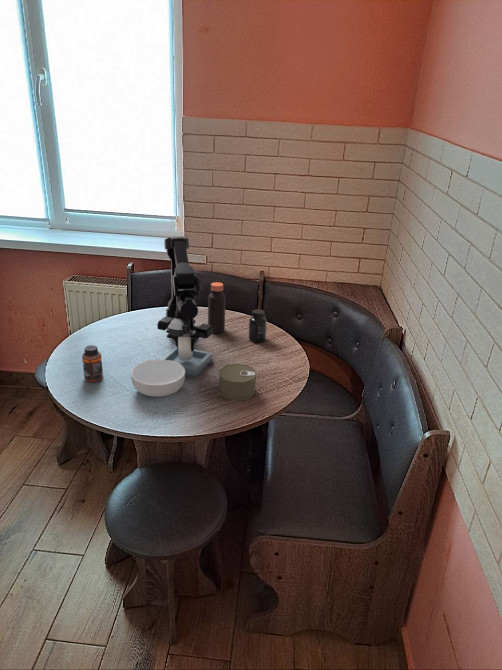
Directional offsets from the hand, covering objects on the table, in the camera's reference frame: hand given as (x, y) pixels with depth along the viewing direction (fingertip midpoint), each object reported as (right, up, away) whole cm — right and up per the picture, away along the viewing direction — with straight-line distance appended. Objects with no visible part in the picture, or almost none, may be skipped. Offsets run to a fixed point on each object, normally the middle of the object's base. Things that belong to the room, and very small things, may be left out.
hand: (185, 349), depth 172 cm
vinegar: (+8, +7, +31) cm, 33 cm away
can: (+18, -13, -12) cm, 26 cm away
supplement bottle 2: (+25, +3, +25) cm, 35 cm away
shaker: (0, -3, +1) cm, 3 cm away
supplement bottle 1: (-29, -9, -9) cm, 32 cm away
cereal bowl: (-7, -13, -14) cm, 20 cm away
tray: (0, -5, +2) cm, 6 cm away
